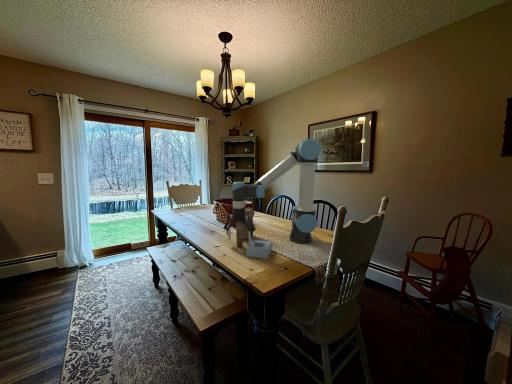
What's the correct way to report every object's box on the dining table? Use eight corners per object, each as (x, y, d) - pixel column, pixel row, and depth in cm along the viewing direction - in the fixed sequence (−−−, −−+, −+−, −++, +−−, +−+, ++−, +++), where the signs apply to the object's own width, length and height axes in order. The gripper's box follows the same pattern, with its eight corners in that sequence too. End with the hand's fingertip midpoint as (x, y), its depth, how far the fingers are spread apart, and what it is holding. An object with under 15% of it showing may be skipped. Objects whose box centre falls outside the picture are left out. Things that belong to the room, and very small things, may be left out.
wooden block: (250, 240, 139) (250, 211, 136) (236, 239, 141) (235, 210, 138) (253, 235, 148) (253, 208, 146) (240, 234, 150) (239, 207, 148)
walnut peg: (243, 245, 129) (243, 227, 128) (241, 248, 125) (241, 229, 124) (237, 245, 130) (237, 226, 129) (235, 247, 126) (235, 228, 125)
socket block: (271, 249, 123) (271, 241, 122) (267, 258, 111) (267, 249, 110) (252, 247, 126) (252, 240, 125) (246, 256, 114) (246, 247, 114)
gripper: (260, 207, 125) (260, 240, 128) (222, 205, 131) (223, 237, 134) (257, 209, 118) (257, 245, 120) (217, 207, 124) (218, 241, 127)
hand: (239, 241), depth 127 cm, fingers open, 13 cm apart
